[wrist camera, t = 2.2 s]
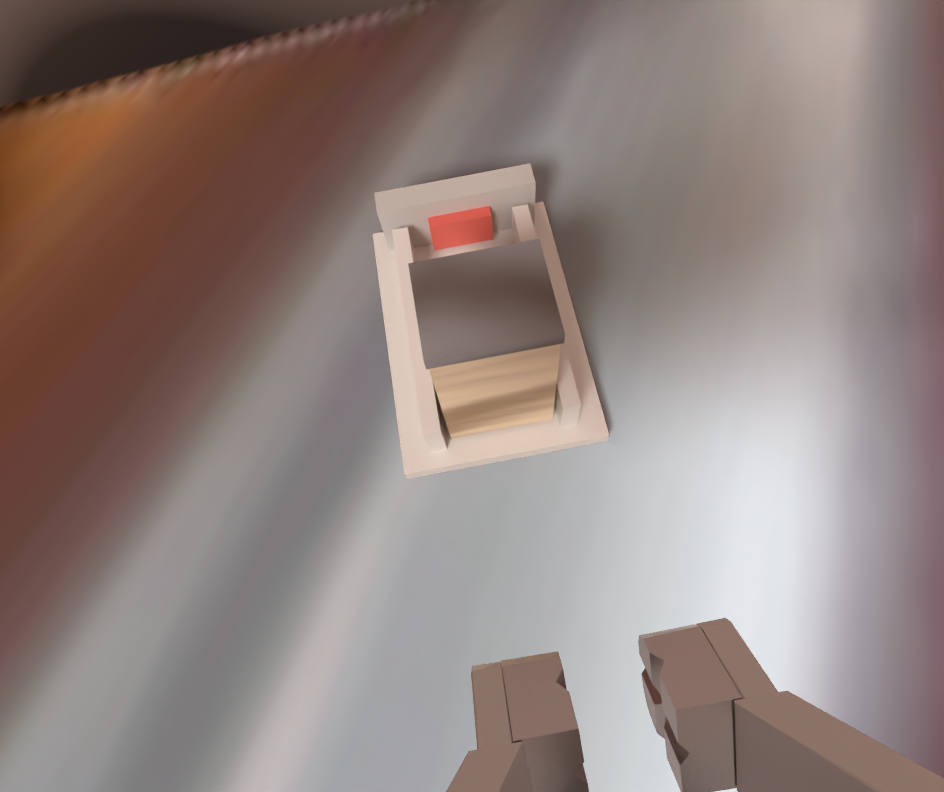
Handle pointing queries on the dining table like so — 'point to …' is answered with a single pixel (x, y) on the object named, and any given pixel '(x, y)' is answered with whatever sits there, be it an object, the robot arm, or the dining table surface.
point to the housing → (417, 405)
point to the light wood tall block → (489, 336)
